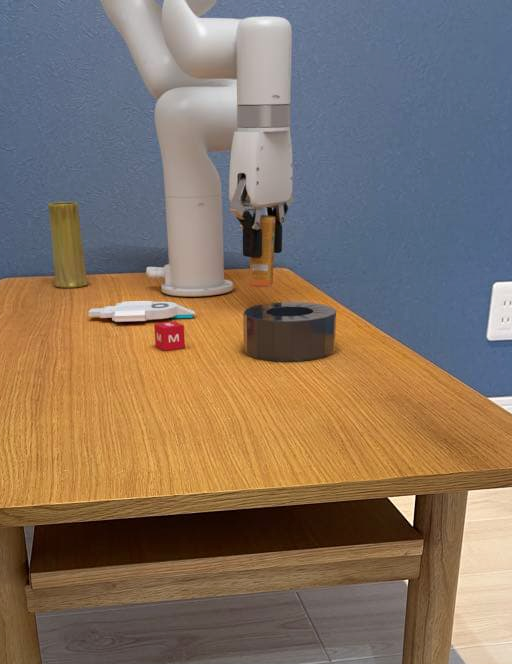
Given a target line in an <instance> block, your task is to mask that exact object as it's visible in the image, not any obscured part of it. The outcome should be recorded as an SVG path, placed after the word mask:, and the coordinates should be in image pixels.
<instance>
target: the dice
mask: <svg viewBox="0 0 512 664" xmlns="http://www.w3.org/2000/svg"><path fill="white" fill-rule="evenodd" d="M153 325H154V327H153V328H154V341H155V343H154V344H155V347H156V348H158V349H160V350H161V351H165V352H167V351H172V350H181V349H185V348H186V343H185V342H186V341H185V325H184V324H181V323H180V322H178V321H176V320H174V321H166V322H158V323H153Z"/></svg>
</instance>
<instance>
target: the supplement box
mask: <svg viewBox="0 0 512 664" xmlns="http://www.w3.org/2000/svg"><path fill="white" fill-rule="evenodd" d="M275 219H276V217H274V216H269V215H265V214H261V218H260V226H259V229H262V257H260V258H253V257H249V287H252V288H270V287H271V286H272V285H273V283H274V260H275V253H274V242H275Z"/></svg>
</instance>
